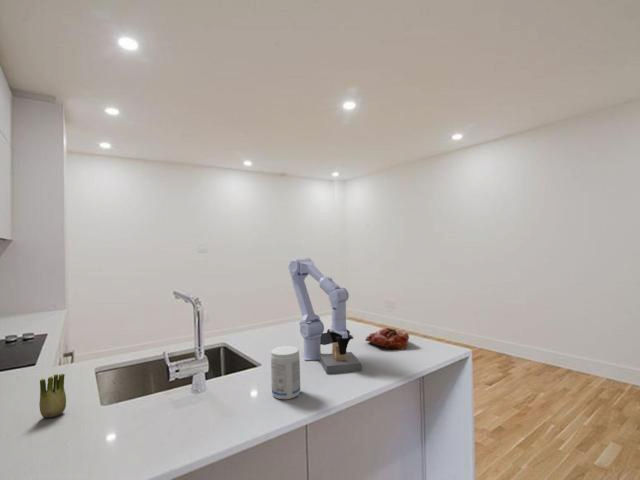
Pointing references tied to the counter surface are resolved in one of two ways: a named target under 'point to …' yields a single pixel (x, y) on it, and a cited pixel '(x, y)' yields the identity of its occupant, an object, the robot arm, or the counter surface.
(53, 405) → the fennel bulb
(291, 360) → the supplement tub
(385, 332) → the meat
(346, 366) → the slate base
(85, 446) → the counter surface
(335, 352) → the oak block
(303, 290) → the robot arm
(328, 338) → the dark slate chunk
